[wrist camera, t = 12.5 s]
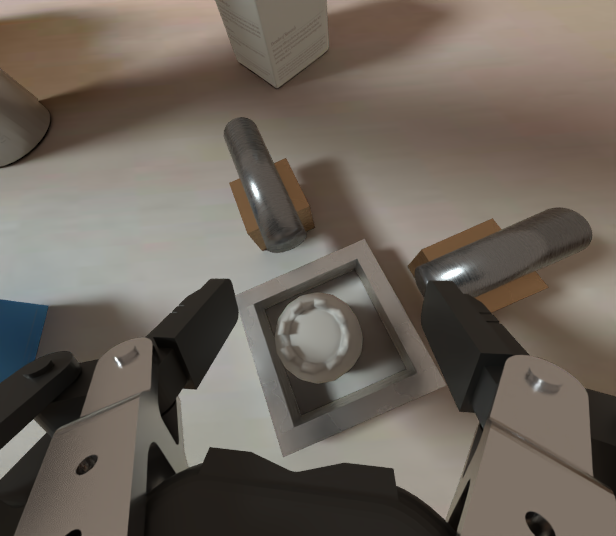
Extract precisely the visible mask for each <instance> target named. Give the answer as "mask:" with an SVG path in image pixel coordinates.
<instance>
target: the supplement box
mask: <svg viewBox="0 0 616 536" xmlns="http://www.w3.org/2000/svg"><path fill="white" fill-rule="evenodd" d="M215 1H216V4H217V7H218V9H219V12H220V15H221V17H222V20H223V23H224V25H225V28H226V31H227V34H228V37H229V39H230V42H231V45H232V47H233V50H234V53H235V56H236V59H237V61H238V62H240V63H241V64H243V65H244V66H246V67H247V68H248V69H250V70H251V71H253V72H254V73H256V74H257V75H258V76H260V77H261V78H263V79H264V80H266V81H267V82H268V83H270V84H271V85H273V86H274V87H275V88H279V87H280V86H282V85H283V84H284V83H286V82H287V81H288V80H290V79H291V78H292V77H294V76H295V75H296V74H298V73H299V72H300V71H301V70H303V69H304V68H306V67H307V66H308V65H310V64H311V63H312V62H313V61H315V60H316V59H317V58H319V57H320V56H321V55H323V54H324V53H325V52H326V51H327V50H328V49H329V37H328V16H327V0H215Z"/></svg>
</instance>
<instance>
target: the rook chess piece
mask: <svg viewBox="0 0 616 536" xmlns="http://www.w3.org/2000/svg"><path fill="white" fill-rule="evenodd" d="M274 337H275V344H276V351H277V354H278V356H279V358H280V359H281V361H282V363H283V365H284V366H285V368H286V369H287V370H288V371H290V372H291V373H292V374H293V375H295V376H296V377H297V378H299V379H300V380H304V381H308V382H312V383H316V384H319V383H324V382H329V381H334V380H336V379H338V378H339V377H340V376H342V375H343V374H345V373H346V372H347V371H349V370H350V369H351V367H353V366H354V364H355V363H356V361H357V359H358V358H359V356H360V354H361V351H362V344H363V335H362V331H361V327H360V324H359V322H358V319H357V317H356V315H355V314H354V313H353V311H352V310H351V309H350V307H349V306H348V304H347V303H345V302H343V301H342V300H340V299H339V298H337V297H335V296H334V295H330V294H325V293H319V292H315V293H310V294H306V295H301V296H300V297H298V298H297V299H295V300H294V301H292V302H291V303H289V304H288V305H287V306H286V308H285V309H284V311H283V312H282V314H281V315H280V317H279V318H278V322H277V326H276V330H275V335H274Z"/></svg>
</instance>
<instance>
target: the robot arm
mask: <svg viewBox="0 0 616 536" xmlns="http://www.w3.org/2000/svg"><path fill="white" fill-rule="evenodd" d="M49 123H50V114H49V111H48V110H47V109H46V107H44V106H43V105H42V104H41V103H39V102H38V98H36V97H35V96H34V95H33V94H31V93H30V92H29V91H28V90H27V89H25V88H24V87H23V86H22V85H20V84H19V83H18V82H17V81H15V80H14V79H13V78H12V77H10V76H9V75H8V74H7V73H6V72H4V71H3V70H2V69H1V68H0V166H4V165H7V164H10V163H12V162H14V161H16V160H18V159H20V158H21V157H23V156H24V155H26V154H27V153H28V152H29V151H31V150H32V149H33V148H34V147H35V146H36V145H37V144H38V143H39V142H40V140H41V139H42V138H43V136H44V135H45V133H46V131H47V129H48V127H49ZM238 314H239V311H238V305H237V301H236V297H235V293H234V289H233V285H232V282H231V280H230V279H210V280H209V281H208V282H207V283H206V284H205V285H204V286H203V287H202V288H201V289H200V290H198V291H196V292H194V293H193V294H191V295H189V296H187V297H186V298H185V299H184V300H183V301H182V302H181V303H180V304H179V306H177V307H176V308H175V309H174V310H173V311H172V313H170V314H169V315H168V316H167V317H166V318H165V319H164V320H163V321H162V322H161V323H160V324H159V325H158V326H157V327H156V328H155V329H154V330H152V331H151V332H150V333H149V334H148V335H147V336H146V337H145V338H144V337H140V338H134V339H130V340H127V341H124V342H122V343H120V344H118V345H116V346H114V347H113V348H111V349H110V350H108V351H107V352H106V353H105V354H104V355H103V356H102V357H101V358H100V359H98V360H93V361H88V362H83V363H78V362H77V360H76V359H75V357H74V356H73V355H72V353H70V352H67V351H61V352H55V353H51V354H48V355H45V356H43V357H40V358H38V359H36V360H34V361H32V362H30V363H28V364H27V365H25V366H23V367H22V368H20V369H19V370H18V371H16V372H15V373H13V374H12V375H11V376H9V377H8V378H6V379H5V380H4V381H2V382H1V383H0V449H1V448H3V447H4V446H5V445H6V444H7V443H8V442H9V441H10V440H11V439H12V438H13V437H14V436H15V435H17V434H18V433H19V432H20V431H21V430H22V429H23V428H24V427H25V426H26V425H27V424H28V423H30V422H31V421H32V420H33V419H34V420H35V421H36V422H37V423H38V424H39V425H40V426H41V427H42V428H43V429H44V430H45V431H46V432H47V433H46V434H45V435H44V436H43V437H42V438H41V439H40V440H39V441H38V442H37V443H36V444H35V445H34V446H33V447H32V448H31V449H30V450H29V451H28V452H27V453H26V454H25V455H24V456H23V457H22V458H21V459H20V460H19V461H18V462H17V463H16V464H15V465H14V466H13V467H12V469H11V470H10V471H9V472H8V473H7V474H6V475H5V476H4V477H3V478H2V479H1V480H0V536H616V397H615V396H611V395H608V394H604V393H600V392H597V391H593V390H589V389H586V388H584V387H583V385H582V384H581V383H580V382H579V381H578V380H577V379H576V378H575V377H574V376H572V375H571V374H570V373H568V372H567V371H566V370H564V369H562V368H561V367H559V366H557V365H555V364H553V363H551V362H549V361H546V360H543V359H541V358H537V357H533V356H530V355H529V354H528V353H527V352H526V351H525V350H524V348H523V347H522V346H521V345H520V344H519V343H518V342H517V341H516V340H515V338H514V337H513V336H512V335H511V334H510V333H509V332H508V331H507V330H506V328H505V327H504V326H503V325H502V324H499V321H498V320H497V318H496V317H495V316H494V315H491V312H490V311H489V310H488V308H487V307H486V306H485V305H484V304H483V303H482V302H480V301H479V300H477V299H476V298H474V297H472V296H471V295H469V294H463V293H462V292H461V290H460V289H459V288H458V287H457V285H456V284H455V283H454V282H453V281H436V280H430V281H429V282H428V283H427V286H426V292H425V297H424V302H423V307H422V313H421V323H422V328H423V331H424V333H425V335H426V338H427V340H428V342H429V344H430V347H431V349H432V351H433V353H434V356H435V358H436V360H437V362H438V365H439V367H440V369H441V371H442V374H443V376H444V378H445V380H446V383H447V385H448V387H449V389H450V392H451V394H452V396H453V398H454V401H455V403H456V405H457V407H458V410H459V412H472V413H475V414H476V416H477V418H478V420H479V424H478V426H477V428H476V431H475V434H474V438H473V441H472V444H471V447H470V450H469V453H468V456H467V459H466V462H465V465H464V469H463V472H462V475H461V478H460V481H459V484H458V487H457V490H456V492H455V495H454V498H453V500H452V503H451V505H450V508H449V511H448V514H447V517H446V519H445V520H444V519H443V518H442V517H441V516H440V515H439V514H438V513H437V512H436V511H434V510H433V509H432V508H431V507H430V506H429V505H427V504H426V503H425V502H423V501H422V500H421V499H419V498H418V497H416V496H415V495H413V494H411V493H410V492H408V491H406V490H405V489H402V488H400V487H398V486H396V482H395V476H394V470H393V468H385V467H376V466H367V465H359V464H350V463H341V464H336V465H331V466H326V467H321V468H316V469H311V470H306V471H301V472H292V471H289V470H287V469H285V468H283V467H281V466H279V465H277V464H275V463H273V462H271V461H269V460H267V459H264V458H262V457H260V456H258V455H256V454H254V453H252V452H246V451H238V450H229V449H220V448H212V447H210V448H209V450H208V452H207V455H206V457H205V459H204V462H203V463H201V464H198V465H195V466H192V467H189V466H188V463H187V460H186V456H185V450H184V438H183V426H182V414H181V402H180V398H179V396H178V395H179V393H180V392H181V390H182V389H197V388H198V386H199V384H200V383H201V381H202V379H203V378H204V376H205V374H206V373H207V371H208V369H209V368H210V366H211V364H212V363H213V361H214V359H215V358H216V356H217V354H218V353H219V351H220V349H221V348H222V346H223V344H224V343H225V341H226V339H227V338H228V336H229V334H230V333H231V331H232V329H233V328H234V326H235V324H236V322H237V320H238Z"/></svg>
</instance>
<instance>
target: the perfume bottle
mask: <svg viewBox="0 0 616 536" xmlns="http://www.w3.org/2000/svg"><path fill="white" fill-rule="evenodd" d="M47 310H48V306H46V305H38V304H31V303H23V302H16V301H8V300H1V299H0V383H1V382H2V381H4V380H5V379H6V378H8V377H9V376H11V375H12V374H13V373H15V372H16V371H18V370H19V369H20V368H22V367H23V366H25V365H27V364H28V363H30V362H32V361H34V360H35V358H36V354H37V350H38V346H39V342H40V338H41V334H42V330H43V326H44V322H45V318H46V314H47Z"/></svg>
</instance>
